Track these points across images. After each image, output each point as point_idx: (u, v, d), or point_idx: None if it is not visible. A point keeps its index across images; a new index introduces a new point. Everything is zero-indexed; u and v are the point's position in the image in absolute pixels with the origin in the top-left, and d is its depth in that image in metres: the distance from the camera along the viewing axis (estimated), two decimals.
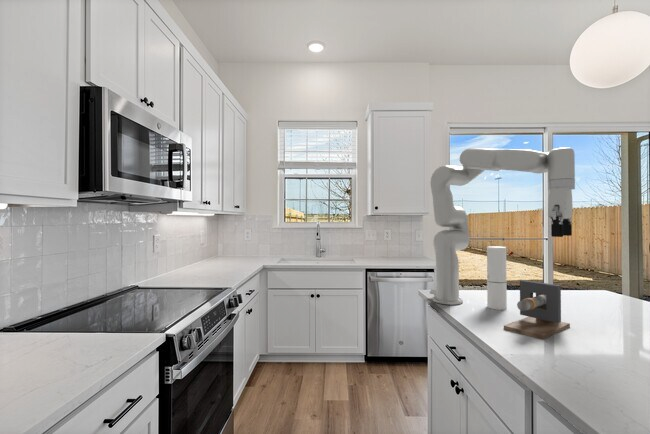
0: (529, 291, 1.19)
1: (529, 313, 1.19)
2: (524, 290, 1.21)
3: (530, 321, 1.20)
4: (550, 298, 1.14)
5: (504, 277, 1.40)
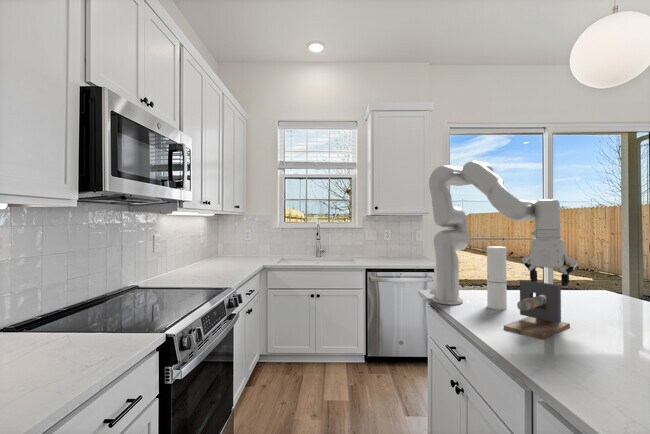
0: (529, 291, 1.19)
1: (529, 313, 1.19)
2: (524, 290, 1.21)
3: (530, 321, 1.20)
4: (550, 298, 1.14)
5: (504, 277, 1.40)
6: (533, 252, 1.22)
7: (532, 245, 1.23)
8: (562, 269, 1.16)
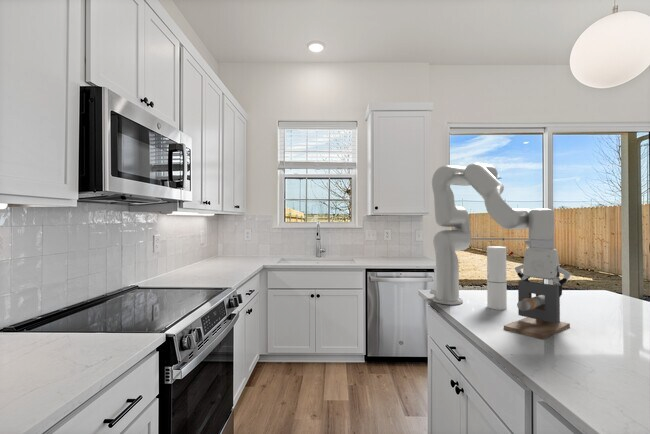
0: (527, 291, 1.19)
1: (528, 313, 1.19)
2: (522, 290, 1.20)
3: (530, 321, 1.20)
4: (548, 298, 1.13)
5: (504, 277, 1.40)
6: (526, 262, 1.20)
7: (525, 255, 1.20)
8: (555, 280, 1.14)
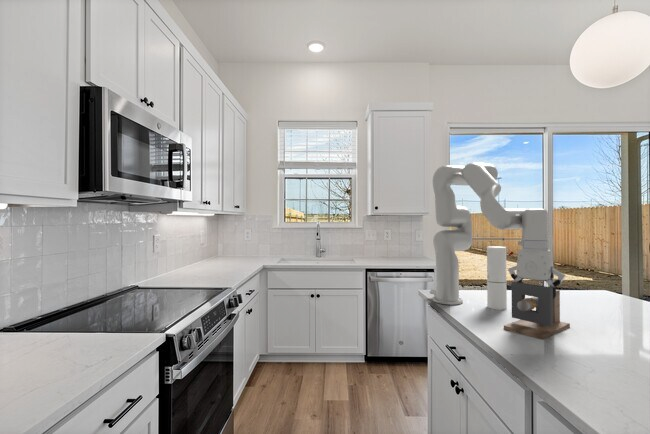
0: (521, 293, 1.16)
1: (521, 316, 1.16)
2: (516, 292, 1.18)
3: None
4: (542, 300, 1.11)
5: (504, 277, 1.40)
6: (520, 263, 1.17)
7: (519, 256, 1.18)
8: (549, 282, 1.11)
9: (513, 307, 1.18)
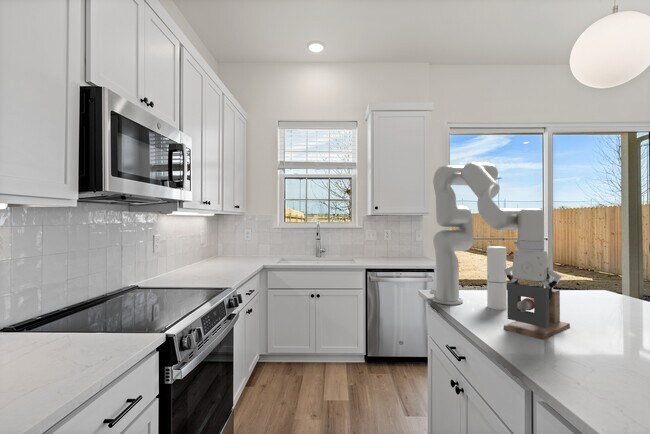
0: (517, 294, 1.15)
1: (517, 317, 1.15)
2: (511, 293, 1.16)
3: None
4: (538, 301, 1.09)
5: (504, 277, 1.40)
6: (515, 264, 1.16)
7: (514, 256, 1.16)
8: (545, 283, 1.10)
9: (509, 308, 1.17)
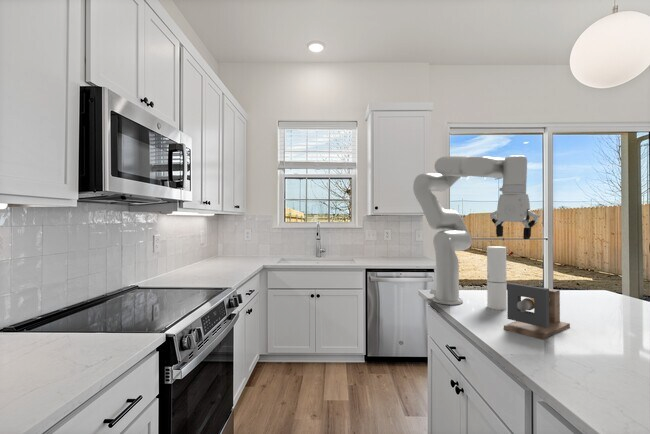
0: (517, 294, 1.15)
1: (517, 317, 1.15)
2: (511, 293, 1.16)
3: None
4: (538, 301, 1.09)
5: (504, 277, 1.40)
6: (499, 207, 1.27)
7: (499, 201, 1.27)
8: (525, 223, 1.21)
9: (509, 308, 1.17)
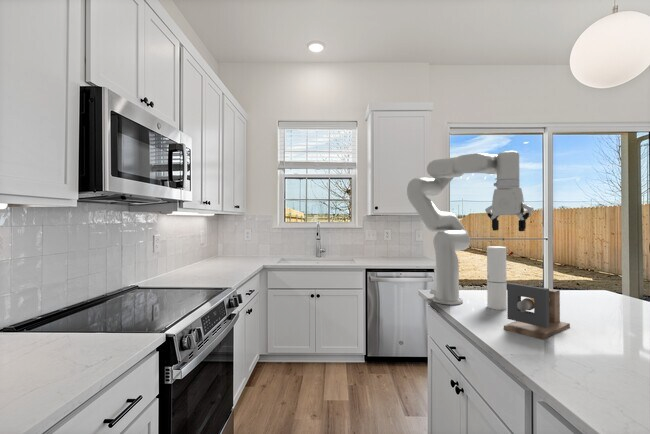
0: (517, 294, 1.15)
1: (517, 317, 1.15)
2: (511, 293, 1.16)
3: None
4: (538, 301, 1.09)
5: (504, 277, 1.40)
6: (494, 201, 1.31)
7: (494, 195, 1.31)
8: (519, 215, 1.25)
9: (509, 308, 1.17)
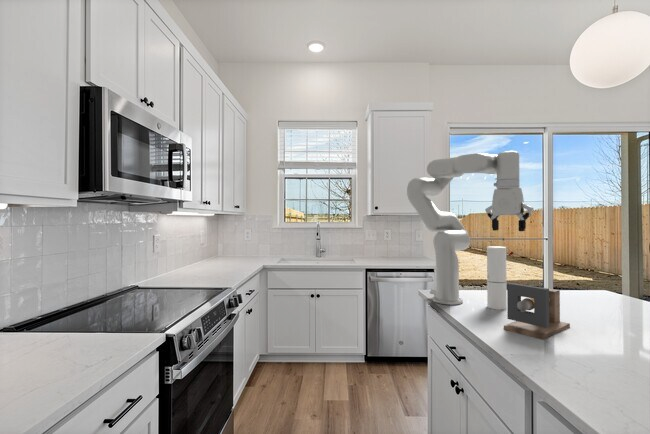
0: (517, 294, 1.15)
1: (517, 317, 1.15)
2: (511, 293, 1.16)
3: None
4: (538, 301, 1.09)
5: (504, 277, 1.40)
6: (494, 201, 1.31)
7: (494, 195, 1.31)
8: (519, 215, 1.25)
9: (509, 308, 1.17)
